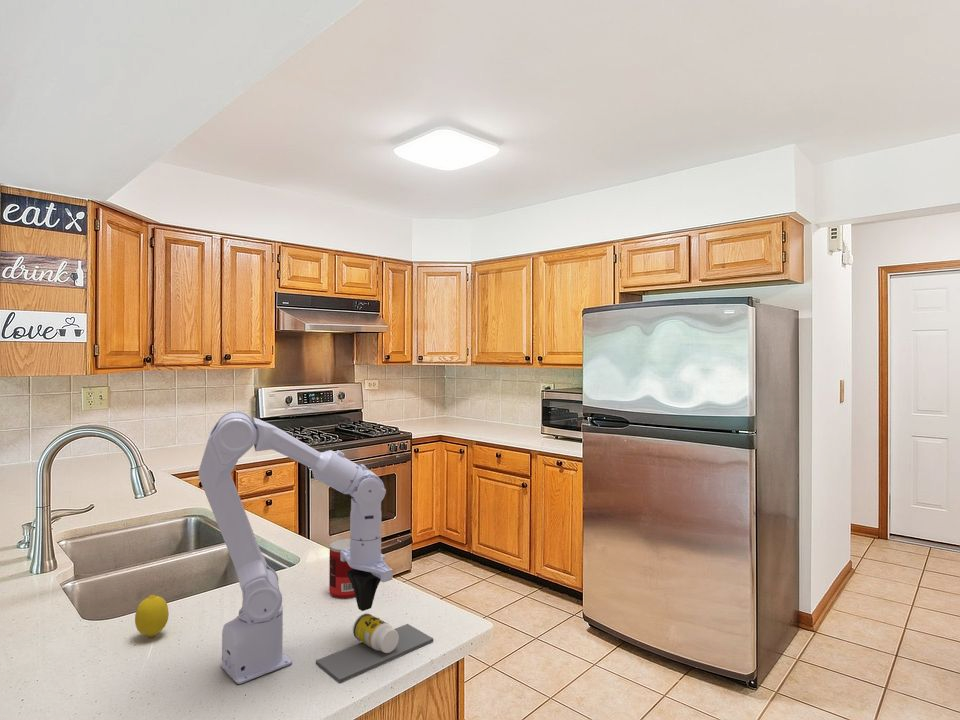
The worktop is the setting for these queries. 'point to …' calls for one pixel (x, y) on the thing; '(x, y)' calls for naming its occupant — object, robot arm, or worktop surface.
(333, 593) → the canned food
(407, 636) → the mat
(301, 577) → the worktop surface
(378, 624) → the supplement bottle
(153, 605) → the lemon
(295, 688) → the worktop surface
